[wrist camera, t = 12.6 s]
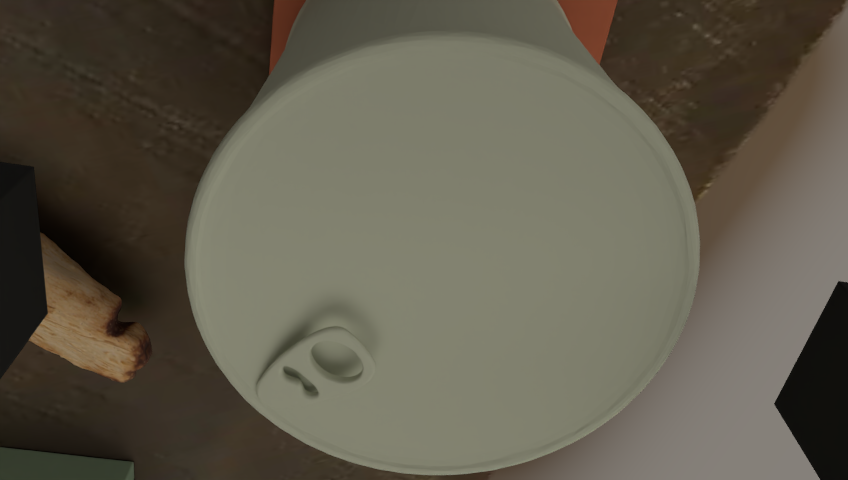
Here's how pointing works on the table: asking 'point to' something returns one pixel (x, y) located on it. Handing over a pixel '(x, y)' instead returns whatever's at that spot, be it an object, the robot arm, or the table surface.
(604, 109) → the can
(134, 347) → the lashed bone hook
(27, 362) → the table surface
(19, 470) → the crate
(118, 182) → the table surface
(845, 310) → the robot arm
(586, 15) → the mat
